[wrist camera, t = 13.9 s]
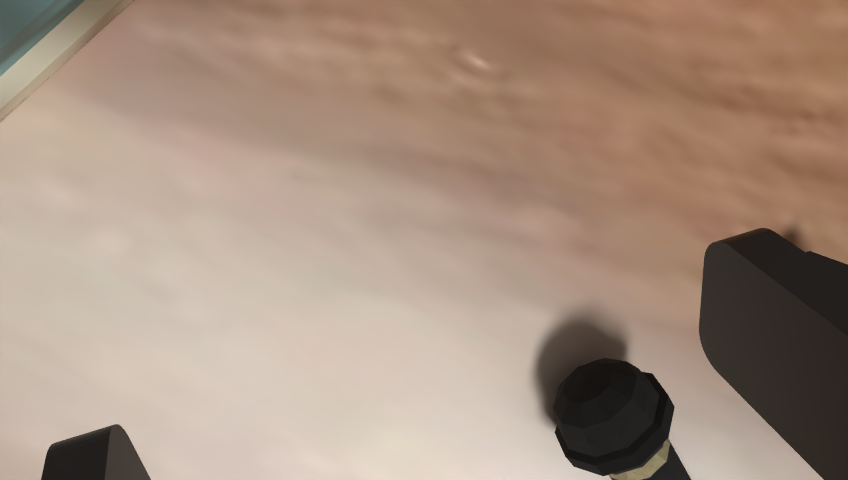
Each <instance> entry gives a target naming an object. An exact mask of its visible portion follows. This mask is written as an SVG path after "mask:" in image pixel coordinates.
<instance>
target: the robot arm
mask: <svg viewBox="0 0 848 480" xmlns="http://www.w3.org/2000/svg"><path fill="white" fill-rule="evenodd" d="M699 335H700V340H701V344H702V347H703V350H704V352H705V354H706V356H707V358H708V360H709V362H710V363H711V365H712V366H713V367H714V369H715V370H716V371H717V372H718V373H719V374H720V375H721V376H722V377H723V378H724V379H725V380H726V381H727V382H728V383H729V384H730V385H731V386H732V387H733V388H734V389H735V390H736V391H737V392H738V393H739V394H740V395H741V396H742V397H743V398H744V399H745V400H746V401H747V403H748V404H749V405H750V406H751V407H752V408H753V409H754V410H755V411H756V412H757V413H758V414H759V415H760V416H761V417H762V418H763V419H764V420H765V421H766V422H767V423H768V424H769V425H770V426H771V427H772V428H773V429H774V430H775V431H776V432H777V433H778V434H779V435H780V436H781V437H782V438H783V439H784V440H785V441H786V442H787V443H788V444H789V445H790V446H791V447H792V448H793V449H794V450H795V451H796V452H797V453H798V454H799V455H800V456H801V457H802V458H803V459H804V460H805V461H806V462H807V463H808V464H809V465H810V466H811V467H812V468H813V469H814V470H815V471H816V472H817V473H818V474H819V475H820V476H821V477H822V478H823V479H824V480H848V265H847V264H844V263H842V262H839V261H836V260H833V259H830V258H827V257H825V256H822V255H819V254H816V253H813V252H811V251H809V252H806V253H805V252H804V251H802V250H801V249H799V248H798V247H796V246H795V245H793V244H792V243H790V242H789V241H787V240H786V239H784V238H783V237H781V236H780V235H779V234H777V233H776V232H774V231H772V230H770V229H767V228H759V229H756V230H752V231H749V232H746V233H743V234H739V235H736V236H733V237H730V238H726V239H723V240H720V241H717V242H714V243H712V244H710V245H709V246H708V248H707V250H706V252H705V257H704V268H703V281H702V294H701V308H700V321H699ZM41 480H151V479H150V477H149V475H148V473H147V471H146V469H145V467H144V466H143V464H142V462H141V460H140V458H139V456H138V454H137V452H136V450H135V448H134V446H133V444H132V443H131V441H130V439H129V437H128V435H127V433H126V432H125V430H124V429H123V428H122V427H121V426H120V425H118V424H115V425H112V426H108V427H105V428H102V429H99V430H95V431H92V432H89V433H86V434H82V435H79V436H76V437H73V438H69V439H66V440H63V441H60V442H56V443H54V444H52V445H51V446H50V447H49V449H48V451H47V455H46V459H45V464H44V469H43V473H42V478H41Z"/></svg>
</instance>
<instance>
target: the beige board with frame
mask: <svg viewBox="0 0 848 480" xmlns="http://www.w3.org/2000/svg"><path fill="white" fill-rule="evenodd" d="M132 1H134V0H0V122H1V121H2V120H3V119H4V118H5V117H6V116H7V115H9V114H10V113H11V112H12V111H13V110H14V109H15V108H16V107H17V106H18V105H20V104H21V103H22V102H23V101H24V100H25V99H26V98H27V97H28V96H29V95H31V94H32V93H33V92H34V91H35V90H36V89H37V88H38V87H39V86H40V85H41V84H43V83H44V82H45V81H46V80H47V79H48V78H49V77H50V76H51V75H52V74H54V73H55V72H56V71H57V70H58V69H59V68H60V67H61V66H62V65H63V64H65V63H66V62H67V61H68V60H69V59H70V58H71V57H72V56H73V55H74V54H75V53H77V52H78V51H79V50H80V49H81V48H82V47H83V46H84V45H85V44H86V43H88V42H89V41H90V40H91V39H92V38H93V37H94V36H95V35H96V34H97V33H98V32H100V31H101V30H102V29H103V28H104V27H105V26H106V25H107V24H108V23H109V22H111V21H112V20H113V19H114V18H115V17H116V16H117V15H118V14H119V13H120V12H122V11H123V10H124V9H125V8H126V7H127V6H128V5H129V4H130V3H131V2H132Z"/></svg>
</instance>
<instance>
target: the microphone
mask: <svg viewBox="0 0 848 480" xmlns="http://www.w3.org/2000/svg"><path fill="white" fill-rule="evenodd" d="M553 410H554V416H555V420H556V422H557V427H556V430H555V434H556V437H557V439H558V441H559V443H560V445H561V448H562V450H563V452H564V454H565V457H566V458H567V459H568V460H569V461H570V462H571V464H572V465H573V466H574V467H577V468H580V469H583V470H586V471H589V472H592V473H595V474H598V475H602V476H606V475H609V476H610V478H611V479H612V480H691V479H690V477H689V475H688V473H687V471H686V470H685V468H684V466H683V464H682V462H681V461H680V459H679V457H678V455H677V453H676V452H675V450H674V448H673V446H672V444H671V443H670V441H669V440H668V436H669V431H670V427H671V422H672V417H673V412H674V405H673V403H672V401H671V400H670V398H669V396H668V394H667V393H666V392H665V390H664V389H663V388H662V386H661V385H660V383H659V382H658V381H657V379H656V378H655V377H654V375H653V374H651V373H645V372H641V371H640V370H639V369H638V368H637V367H635V366H633V365H632V364H630V363H628V362H626V361H620V360H614V359H607V358H603V359H600V360H597V361H594V362H591V363H588V364H586V365H583V366H580V367H578V368H577V369H576V370H575V371H574V372H573V373H572V374H571V375H570V376H568V377H567V378H566V379H565V380H564V382H563V383H562V384H561V385H560V387H559V390H558V393H557V396H556V399H555V402H554V404H553Z"/></svg>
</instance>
